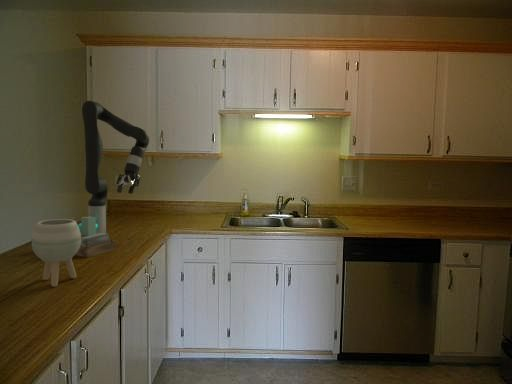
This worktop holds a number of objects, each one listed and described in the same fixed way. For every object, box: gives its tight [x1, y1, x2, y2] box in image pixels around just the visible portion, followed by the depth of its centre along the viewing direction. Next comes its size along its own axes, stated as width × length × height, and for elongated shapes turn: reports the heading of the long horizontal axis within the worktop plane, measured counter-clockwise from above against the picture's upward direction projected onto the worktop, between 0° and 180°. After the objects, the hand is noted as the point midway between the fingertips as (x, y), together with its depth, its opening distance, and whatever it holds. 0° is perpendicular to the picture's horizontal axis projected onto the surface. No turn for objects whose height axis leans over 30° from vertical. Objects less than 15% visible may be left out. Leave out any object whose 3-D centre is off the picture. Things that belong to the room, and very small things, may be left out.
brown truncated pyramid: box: [74, 232, 116, 258], centre depth 187 cm, size 17×17×8 cm
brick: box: [80, 215, 96, 236], centre depth 186 cm, size 4×4×8 cm
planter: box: [31, 218, 81, 288], centre depth 142 cm, size 16×16×22 cm
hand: (124, 193), depth 206 cm, fingers open, 8 cm apart
